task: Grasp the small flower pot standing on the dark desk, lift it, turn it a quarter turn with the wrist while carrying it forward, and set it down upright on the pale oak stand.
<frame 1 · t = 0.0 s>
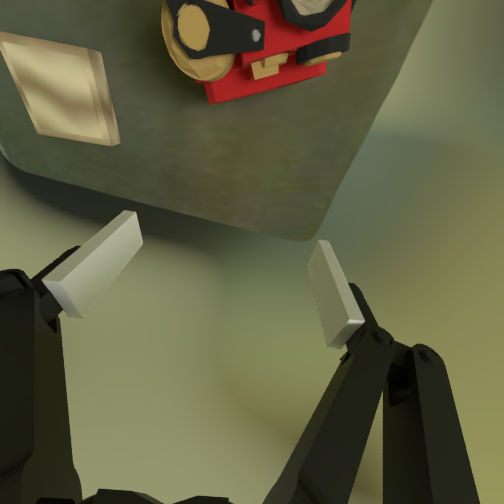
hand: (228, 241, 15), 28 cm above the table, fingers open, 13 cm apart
red mechanical box: (260, 45, 28), on the table
oak stand: (74, 95, 33), on the table
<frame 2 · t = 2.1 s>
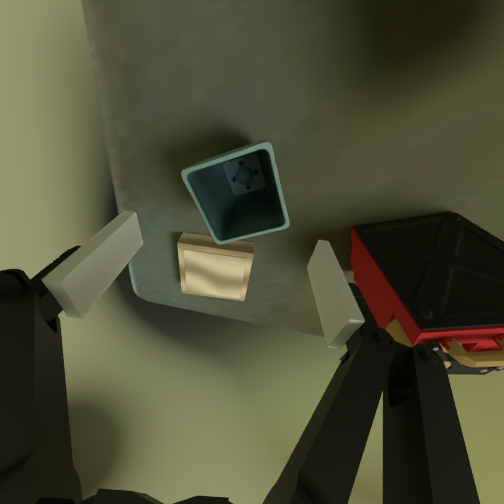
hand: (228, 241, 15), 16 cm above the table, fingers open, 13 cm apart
red mechanical box: (396, 243, 33), on the table
flower pot: (245, 173, 27), on the table
oak stand: (217, 263, 37), on the table
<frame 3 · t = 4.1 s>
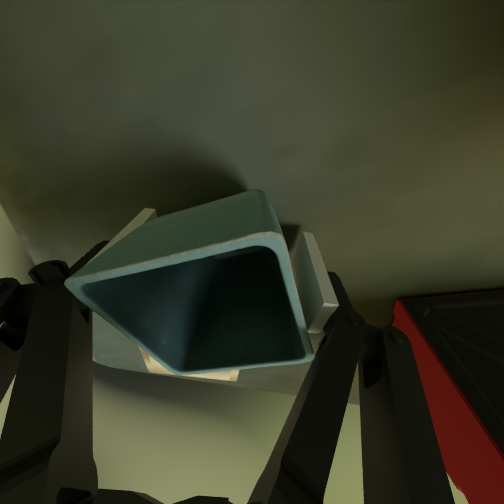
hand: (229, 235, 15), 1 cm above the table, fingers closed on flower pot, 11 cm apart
red mechanical box: (459, 315, 22), on the table
flower pot: (232, 227, 16), on the table, touching gripper
oak stand: (198, 333, 27), on the table
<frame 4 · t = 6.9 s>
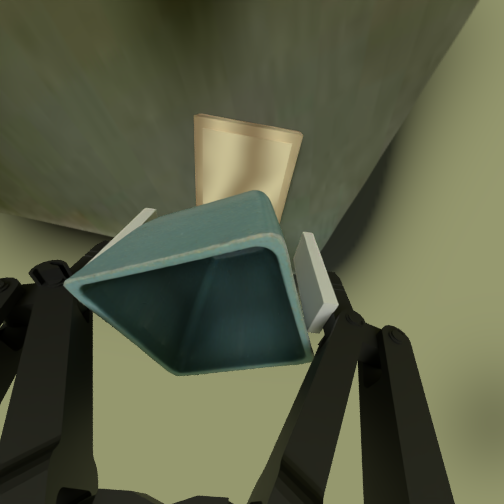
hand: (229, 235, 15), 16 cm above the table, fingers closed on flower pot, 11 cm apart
flower pot: (231, 227, 16), point 15 cm above the table, touching gripper
oak stand: (244, 173, 28), on the table
when the fingers open (5 cm above the table, at t = 9.7 s): flower pot drops 1 cm, resting on oak stand.
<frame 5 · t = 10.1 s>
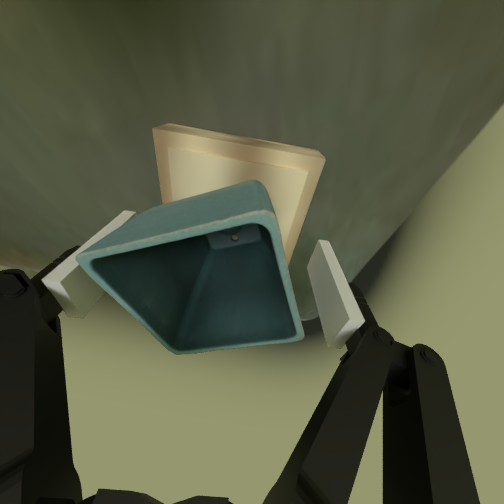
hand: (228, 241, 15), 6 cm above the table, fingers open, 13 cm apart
flower pot: (230, 218, 17), point 3 cm above the table, touching oak stand
oak stand: (236, 205, 20), on the table
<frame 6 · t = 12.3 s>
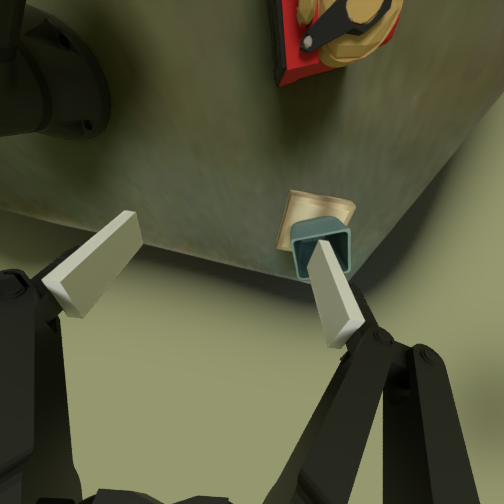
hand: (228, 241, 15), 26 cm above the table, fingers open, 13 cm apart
red mechanical box: (307, 0, 25), on the table
flower pot: (311, 228, 39), point 3 cm above the table, touching oak stand
oak stand: (310, 222, 42), on the table
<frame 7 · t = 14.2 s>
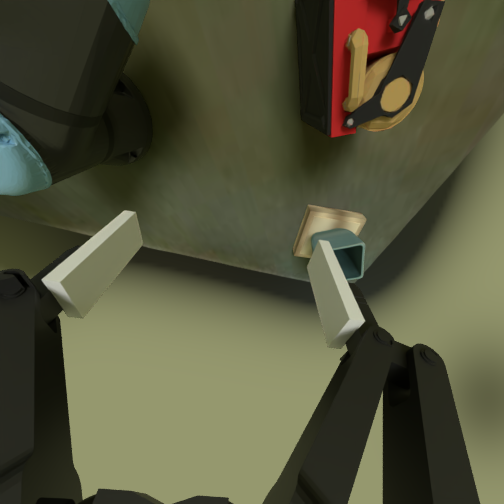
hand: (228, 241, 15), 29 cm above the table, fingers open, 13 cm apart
red mechanical box: (331, 53, 29), on the table
flower pot: (326, 238, 45), point 3 cm above the table, touching oak stand
oak stand: (324, 231, 47), on the table
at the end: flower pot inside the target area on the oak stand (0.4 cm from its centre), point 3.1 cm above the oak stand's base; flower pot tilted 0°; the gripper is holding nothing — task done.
